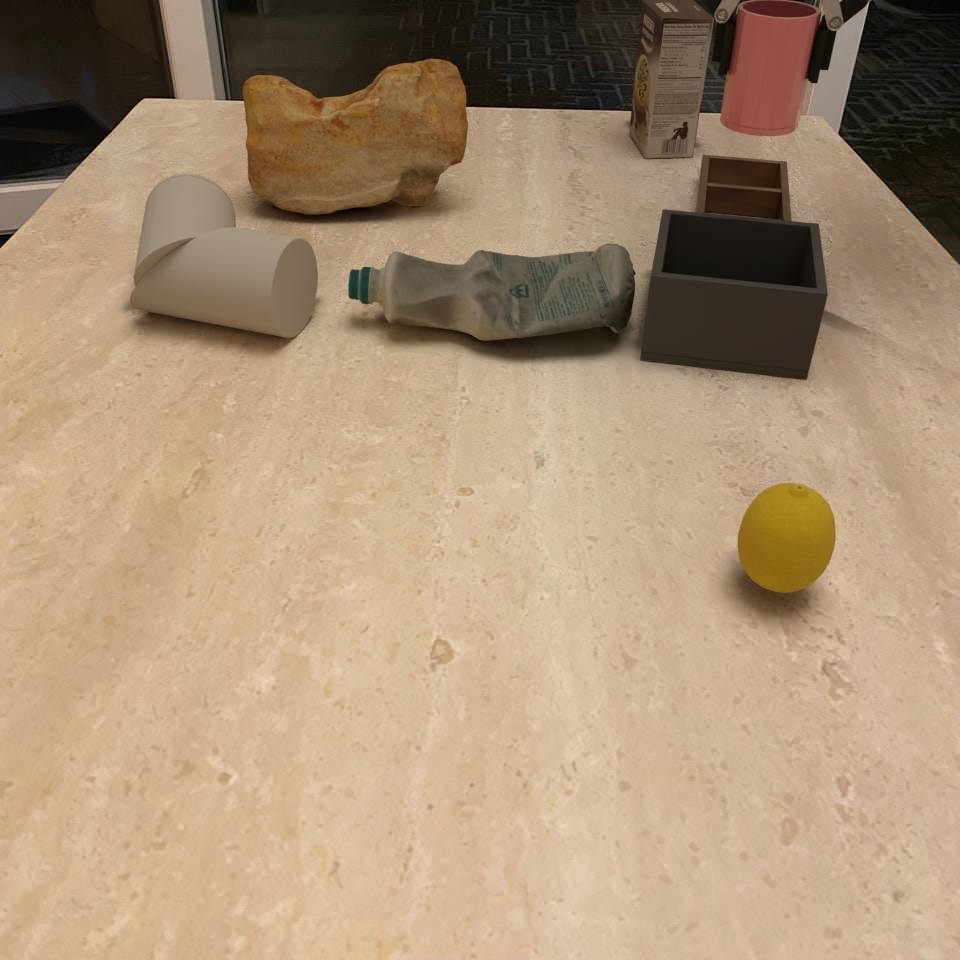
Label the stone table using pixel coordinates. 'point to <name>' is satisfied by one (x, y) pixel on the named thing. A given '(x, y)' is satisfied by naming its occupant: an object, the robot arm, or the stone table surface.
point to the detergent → (504, 292)
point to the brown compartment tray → (744, 187)
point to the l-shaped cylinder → (219, 263)
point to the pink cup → (769, 66)
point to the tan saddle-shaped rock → (355, 139)
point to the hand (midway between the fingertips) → (767, 73)
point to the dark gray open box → (735, 294)
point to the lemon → (786, 537)
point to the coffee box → (669, 77)
